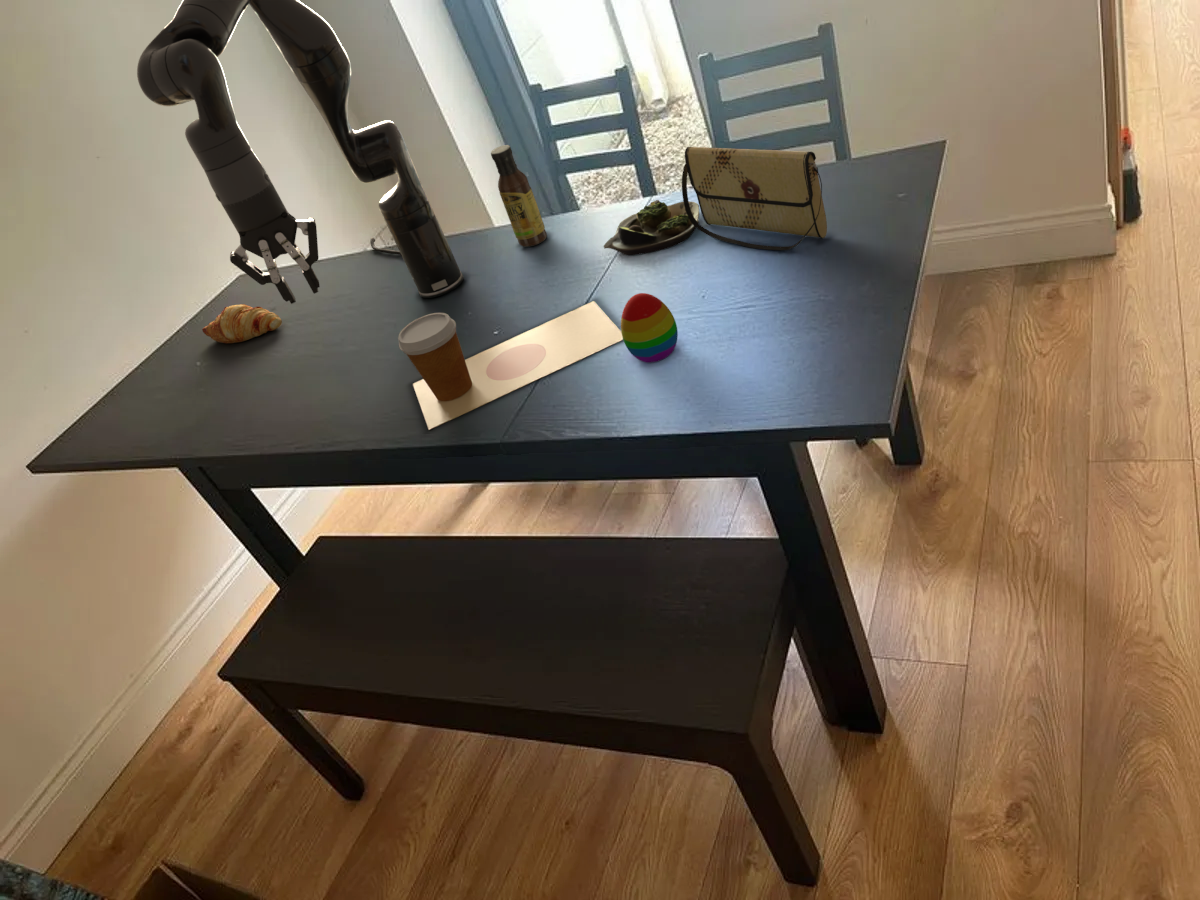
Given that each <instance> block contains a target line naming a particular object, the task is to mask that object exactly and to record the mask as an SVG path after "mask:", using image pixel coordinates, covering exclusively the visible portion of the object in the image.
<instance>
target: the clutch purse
mask: <svg viewBox="0 0 1200 900" xmlns="http://www.w3.org/2000/svg"><path fill="white" fill-rule="evenodd" d="M816 159H817V156H816V153H815V152H813V151H799V150H798V151H797V150H775V149H754V148H753V149H752V148H751V149H749V148H730V147H727V148H725V147H706V146H705V147H704V146H703V147H702V146H687V147H686V148H685V150H684V162H685V163H684V166H683V169H682V175H681V194H682V195H681V196H682V200H683V201H682V202H684V206H685V210H686V213H687V215H688V217H689V219H690V221H691V223H692V224H693V225H694V226H695V227H696V230H698V231H700V232H701V233H703V234H705V235H706V236H709V237H711V238H713V239H715V240H719V241H722V242H726V243H729V244H734V245H737V246H742V247H745V248H751V249H758V250H766V251H767V250H768V251H789V250H793V249H794V248H796V247H797V246H798V245H799V244H800V243H801V242H802V241H803V240H804V239H805V238H806V237H812V238H819V239H821V240H822V239H825V238H826V236H827V233H828V222H827V221H828V220H827V215H826V209H825V205H824V199H823V183H822V179H821V175H820V173H819V167H818V166H817V164H816ZM688 178H689V183H690V185H691V187H692V189H693V190H694V192H695V195H696V197H697V203H698V205H699V210H700V212H701V215H702V218H703V220H704V222H705V224H706V225H708V226H711V225H713V226H714V225H715V226H721V227H730V228H738V229H744V230H745V229H746V230H755V231H762V232H763V231H764V232H771V233H779V234H789V235H794V236H795V235H796V236H802V237H801V238H800V239H799V241H797V242H795V244H792V245H785V246H779V245H778V246H777V245H766V244H765V245H764V244H757V243H751V242H746V241H743V240H739V239H734V238H730V237H726V236H724V235H720V234H718V233H715V232H713V231H711V230H709V229H707V228H705V227H704V226H703V225H701V224H700V222H699V223H698V222H697V221H696V220H695V218H694V216H693V214H692V212H691V209H690V205H689V195H688Z"/></svg>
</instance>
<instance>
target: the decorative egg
mask: <svg viewBox="0 0 1200 900" xmlns="http://www.w3.org/2000/svg"><path fill="white" fill-rule="evenodd" d="M620 331H621V332H622V337H623V340H622V341H623V344H624V345H625V347H626V349H627V350H628V352H629V353H630V354H631V355H632V356H633V357H634V358H635V359H637V360H639V362H643V363H648V364H649V363H650V364H651V363H656V362H659V361H662V360H665V359H666V358H668V357H669V356H671V355H672V354H673V352H674V350H675V348H676V346H677V343H678V338H679V337H678V335H679V334H678V331H679V330H678V325H677V322H676V319H675V317H674V315H673V313H672V311H671V309H670V308H669V307H668V306H667V305H666V303H664V302H663V301H662V300H661V299H660V298H658V297H657V296H655V295H652V294H650V293H646V292H639V293H636V294H634V295H633V296H631V297H630V298H629V299H628V300H627V301H626V303H625V305H624V307H623V310H622V314H621V319H620Z"/></svg>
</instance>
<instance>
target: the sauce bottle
mask: <svg viewBox="0 0 1200 900" xmlns="http://www.w3.org/2000/svg"><path fill="white" fill-rule="evenodd" d="M490 155H491V159H492V160H493V162H494V164H495V168H496V170H497V173H498V175H499V177H498V180H497V188H498V191H499V196H500V198H501V201H502V204H503V207H504V209H505V211H506V214H507V217H508V219H509V222H510V225H511V228H512V231H513V233H514V236H515V238H516V239H517V242H518V244H519V245H520V246H521V247H523V248H530V247H535V246H537V245H539V244H541V243H543V242H544V241H545V240H546V239H547V237H548V232H547V231H546V229H545V228H546V226H545V224H544V221H543V218H542V215H541V213H540V210H539V206H538V203H537V201H536V198H535V196H534V195H535V194H534V192H533V190H532V187H531V185H530V183H529V180H528V177H527V175H526V174H525V173H524V172H522V171H521V170H520V169H519V168H518V165H517V164H516V161H515V158H514V156H513V150H512V147H511V145H510V144H506V145H505V144H504V145H500V146H498V147H495V148H494V149H492V150H491V151H490Z"/></svg>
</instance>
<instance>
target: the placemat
mask: <svg viewBox="0 0 1200 900" xmlns="http://www.w3.org/2000/svg"><path fill="white" fill-rule="evenodd" d="M622 341H624V340H623V337H622V332H621V329H620V328H619V327H618V326H617V325H616V324H615V323H614V322H613V320H612V319H611V318H610V317H609V316H608V315H607V314H606V313H605V312H604V310H603V309H602V308H601V307H600V306H599V305H598V304H597V302H596V301H594V300H593V301H590V302H588V303H586V304H584V305H582V306H579V307H577V308H575V309H572V310H571V311H568V312H566V313H564V314H562V315H560V316H558V317H555V318H553V319H550V320H549V321H547V322H544V323H543V324H540V325H539V326H536V327H533V328H531V329H530V330H527V331H525V332H523V333H520V334H518V335H516V336H514V337H512V338H509V339H508V340H505V341H503V342H501V343H498V344H497V345H494V346H492V347H490V348H488V349H486V350H483V351H481V352H479V353H476V354H475V355H473V356H470V357H468V358H466V359H465V362H466V365H467V368H468V371H469V375H470V378H471V381H472V386H471V388H470V389H469V390H468V391H467V392H466V393H465V394H464V395H462V396H460V397H458V398H456V399H453V400H450V401H439V400H438V399H437V398H436V396H435V395H434V394H433V392H432V391H431V389H430V388H429V386H428V385H427V383H426V382H425V381H424V379H423V378H422V379H420V380H418V381H415V382H414V383H412V387H413V389H414V391H415V394H416V397H417V400H418V403H419V406H420V409H421V412H422V415H423V417H424V420H425V423H426V426H427V429H428V431H431V430H432V429H435V428H437V427H439V426H441V425H444V424H446V423H448V422H450V421H452V420H454V419H457V418H458V417H461V416H463V415H465V414H467V413H470V412H471V411H473V410H476V409H478V408H480V407H482V406H485V405H486V404H489V403H491V402H493V401H495V400H498V399H499V398H502V397H503V396H504V397H505V396H506V395H508V394H510V393H512V392H514V391H516V390H519V389H521V388H523V387H525V386H527V385H530V384H532V383H535V382H537V381H538V380H540V379H542V378H544V377H547V376H548V375H551V374H554V373H555V372H557V371H560V370H562V369H565V368H566V367H569V366H570V365H571V366H572V364H575V363H577V362H580V361H581V360H584V359H586V358H588V357H590V356H592V355H594V354H596V353H598V352H600V351H603V350H605V349H607V348H609V347H611V346H613V345H616V344H618V343H620V342H622Z"/></svg>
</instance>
